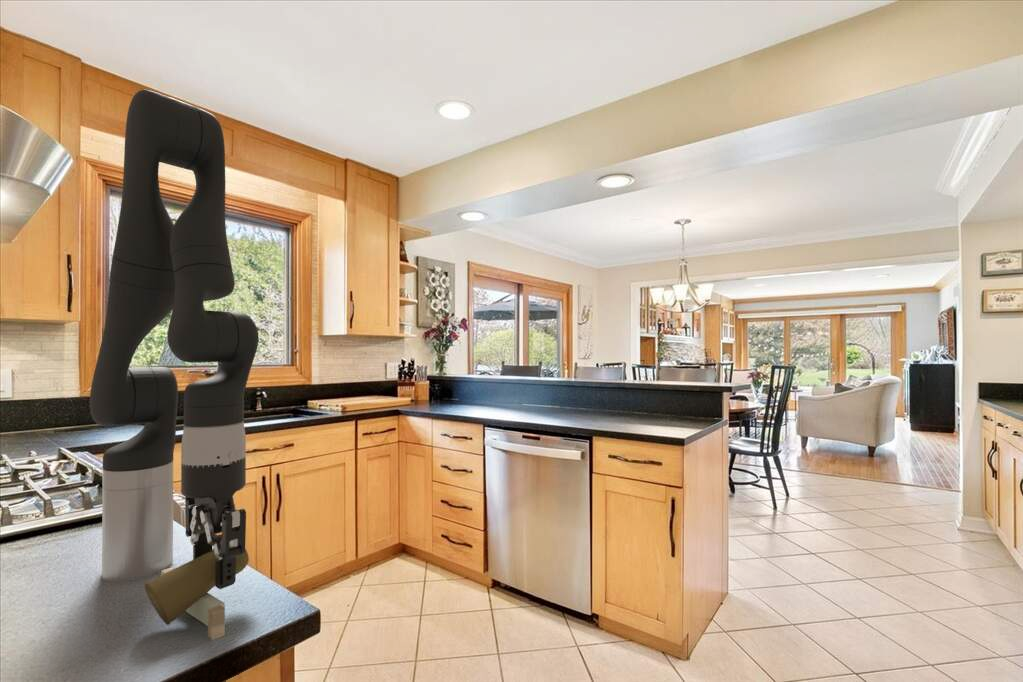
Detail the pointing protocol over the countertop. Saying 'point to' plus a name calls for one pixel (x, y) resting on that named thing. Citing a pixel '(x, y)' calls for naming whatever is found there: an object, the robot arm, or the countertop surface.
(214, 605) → the gate door
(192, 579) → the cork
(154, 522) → the robot arm
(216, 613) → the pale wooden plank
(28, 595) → the countertop surface
